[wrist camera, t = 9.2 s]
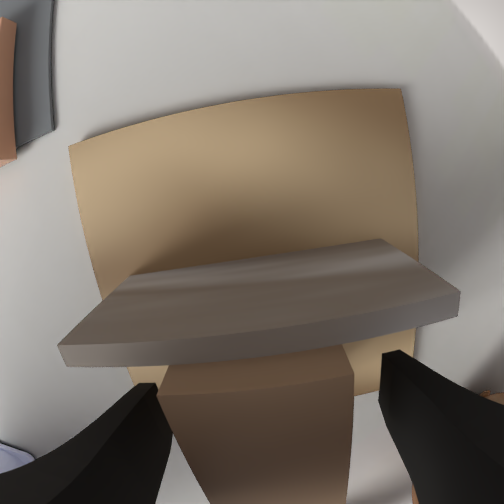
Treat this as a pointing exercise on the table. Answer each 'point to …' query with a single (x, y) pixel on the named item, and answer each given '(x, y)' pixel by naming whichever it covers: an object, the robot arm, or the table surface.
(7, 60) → the tile
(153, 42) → the table surface
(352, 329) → the brown grey t-shaped block
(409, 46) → the table surface
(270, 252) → the oak board
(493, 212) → the table surface
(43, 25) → the slate mat
